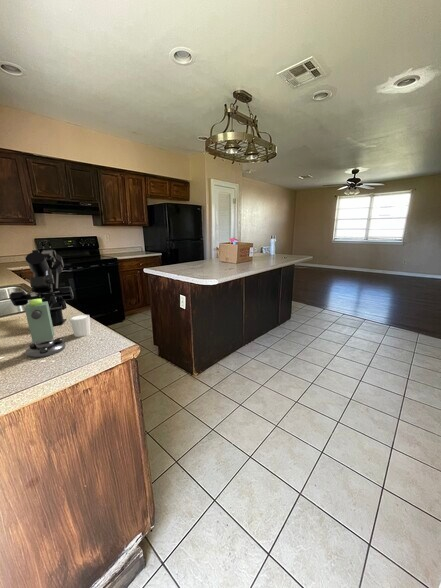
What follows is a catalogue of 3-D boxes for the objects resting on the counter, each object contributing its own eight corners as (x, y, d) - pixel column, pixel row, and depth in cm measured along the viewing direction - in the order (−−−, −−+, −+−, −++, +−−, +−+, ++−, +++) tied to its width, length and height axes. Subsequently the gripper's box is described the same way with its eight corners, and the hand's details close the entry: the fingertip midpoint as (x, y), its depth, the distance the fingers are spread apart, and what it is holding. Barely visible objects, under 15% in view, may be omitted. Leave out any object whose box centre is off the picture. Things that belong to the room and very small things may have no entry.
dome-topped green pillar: (35, 341, 84) (26, 299, 79) (55, 337, 86) (46, 297, 82) (32, 349, 79) (22, 305, 74) (53, 345, 81) (44, 302, 77)
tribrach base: (29, 347, 86) (28, 339, 86) (66, 340, 91) (65, 333, 90) (22, 361, 77) (20, 352, 76) (64, 353, 82) (62, 344, 81)
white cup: (68, 335, 96) (65, 318, 94) (85, 329, 102) (82, 313, 100) (79, 338, 93) (76, 321, 91) (96, 332, 99) (93, 315, 97)
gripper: (4, 269, 85) (2, 309, 78) (67, 265, 93) (70, 301, 86) (15, 287, 93) (14, 324, 87) (72, 282, 102) (75, 315, 95)
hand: (44, 315), depth 89 cm, fingers closed
